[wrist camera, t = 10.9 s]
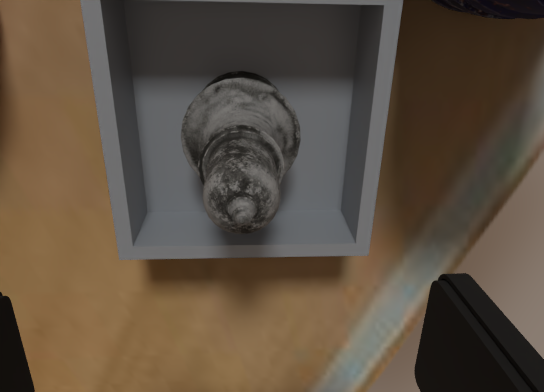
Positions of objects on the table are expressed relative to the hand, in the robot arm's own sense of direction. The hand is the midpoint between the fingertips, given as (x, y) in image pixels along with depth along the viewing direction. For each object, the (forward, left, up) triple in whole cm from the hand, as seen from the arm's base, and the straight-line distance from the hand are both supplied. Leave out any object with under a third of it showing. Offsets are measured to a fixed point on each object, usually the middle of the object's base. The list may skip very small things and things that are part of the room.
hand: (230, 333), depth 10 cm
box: (+1, 0, -18) cm, 18 cm away
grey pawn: (0, 0, -17) cm, 17 cm away
